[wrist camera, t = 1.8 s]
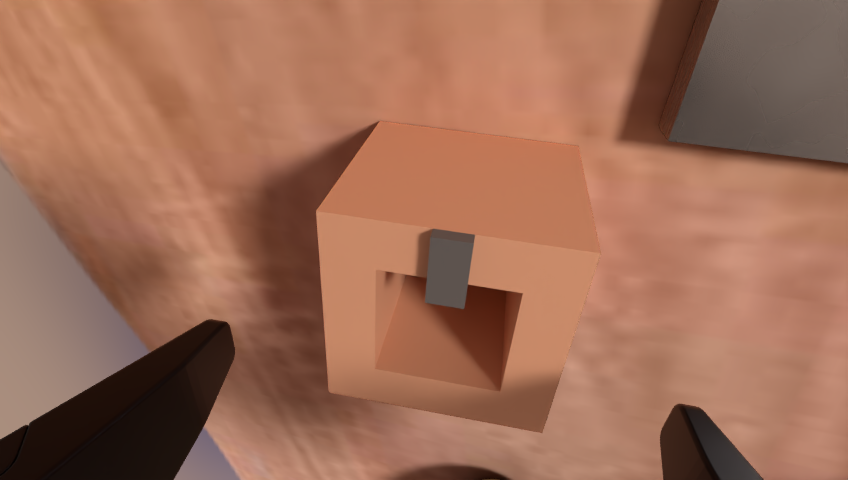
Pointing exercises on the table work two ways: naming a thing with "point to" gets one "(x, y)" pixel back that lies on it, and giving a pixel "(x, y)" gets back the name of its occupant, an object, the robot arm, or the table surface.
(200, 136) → the table surface
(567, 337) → the hollow block with latch
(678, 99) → the grey square base plate
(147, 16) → the table surface
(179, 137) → the table surface
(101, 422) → the robot arm
